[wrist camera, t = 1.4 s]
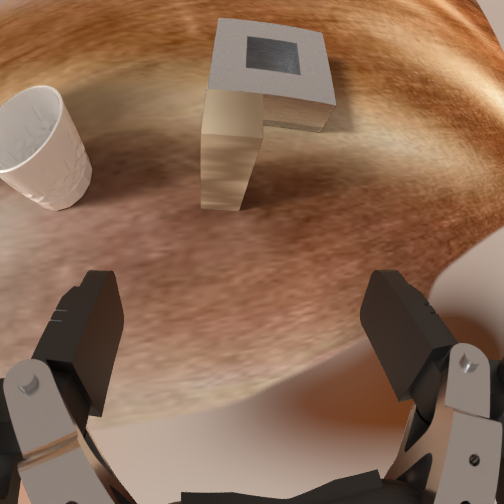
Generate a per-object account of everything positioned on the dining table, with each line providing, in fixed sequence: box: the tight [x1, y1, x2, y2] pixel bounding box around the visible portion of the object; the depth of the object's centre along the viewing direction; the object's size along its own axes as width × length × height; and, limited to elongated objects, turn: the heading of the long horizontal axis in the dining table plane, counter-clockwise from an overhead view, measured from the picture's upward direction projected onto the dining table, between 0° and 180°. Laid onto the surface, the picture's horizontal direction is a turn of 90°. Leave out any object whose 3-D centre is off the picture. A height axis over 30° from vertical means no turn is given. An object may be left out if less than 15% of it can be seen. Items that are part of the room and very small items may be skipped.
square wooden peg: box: [201, 89, 263, 211], centre depth 22 cm, size 3×3×12 cm
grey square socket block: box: [208, 18, 336, 133], centre depth 29 cm, size 12×12×5 cm
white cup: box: [0, 85, 92, 211], centre depth 21 cm, size 8×8×10 cm
